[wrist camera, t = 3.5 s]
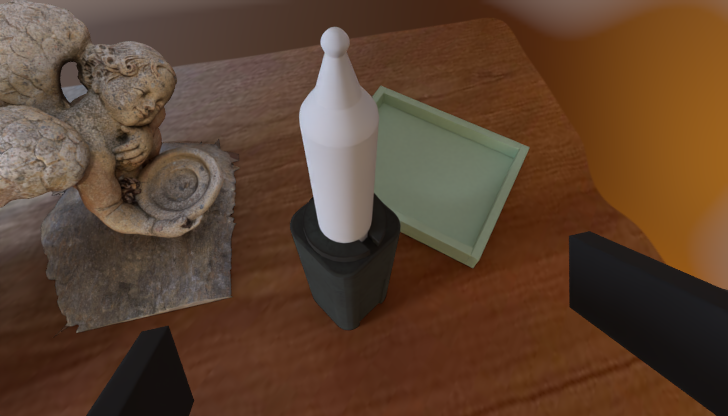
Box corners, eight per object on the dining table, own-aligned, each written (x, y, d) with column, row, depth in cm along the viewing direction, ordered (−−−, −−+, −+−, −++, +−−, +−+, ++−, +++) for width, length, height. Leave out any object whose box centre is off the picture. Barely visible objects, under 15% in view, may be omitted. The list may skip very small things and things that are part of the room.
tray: (313, 188, 38) (311, 176, 36) (379, 99, 44) (380, 85, 42) (473, 268, 34) (479, 260, 32) (522, 159, 40) (529, 147, 38)
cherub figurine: (249, 298, 33) (151, 180, 17) (16, 345, 31) (-340, 260, 15) (237, 135, 41) (164, -44, 25) (54, 163, 39) (-149, -13, 23)
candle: (350, 252, 35) (339, -42, 13) (392, 293, 33) (460, 32, 11) (306, 291, 33) (208, 26, 11) (347, 336, 31) (327, 126, 9)
